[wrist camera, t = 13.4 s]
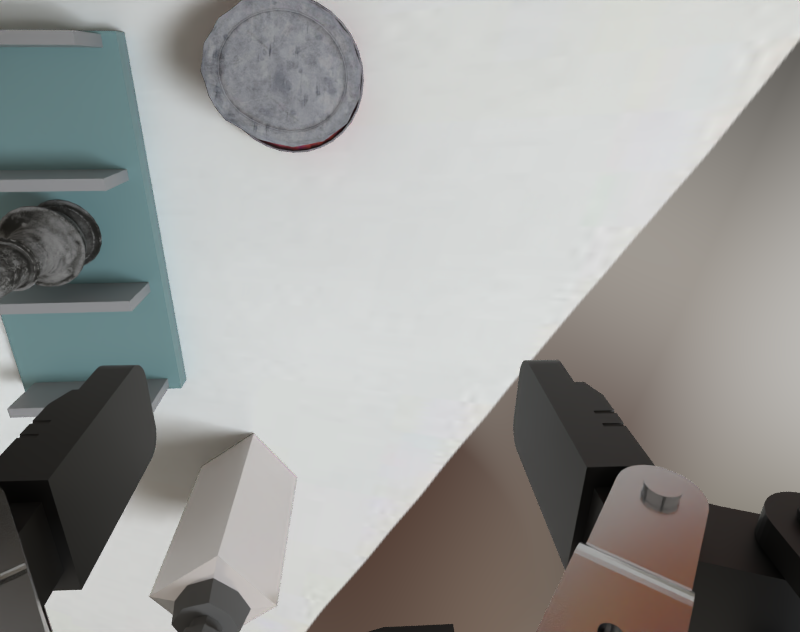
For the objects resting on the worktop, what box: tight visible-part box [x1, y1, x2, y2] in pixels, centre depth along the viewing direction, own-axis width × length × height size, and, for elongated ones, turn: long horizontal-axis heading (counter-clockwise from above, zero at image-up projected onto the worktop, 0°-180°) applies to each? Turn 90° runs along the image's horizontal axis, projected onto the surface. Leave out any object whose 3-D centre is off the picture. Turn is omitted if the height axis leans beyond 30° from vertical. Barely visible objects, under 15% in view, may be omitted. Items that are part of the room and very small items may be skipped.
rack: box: [0, 30, 186, 418], centre depth 41 cm, size 28×13×6 cm, turn 0°
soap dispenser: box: [149, 433, 297, 632], centre depth 44 cm, size 6×9×22 cm
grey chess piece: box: [0, 199, 102, 299], centre depth 37 cm, size 6×6×12 cm
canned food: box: [201, 0, 364, 153], centre depth 38 cm, size 11×10×10 cm
